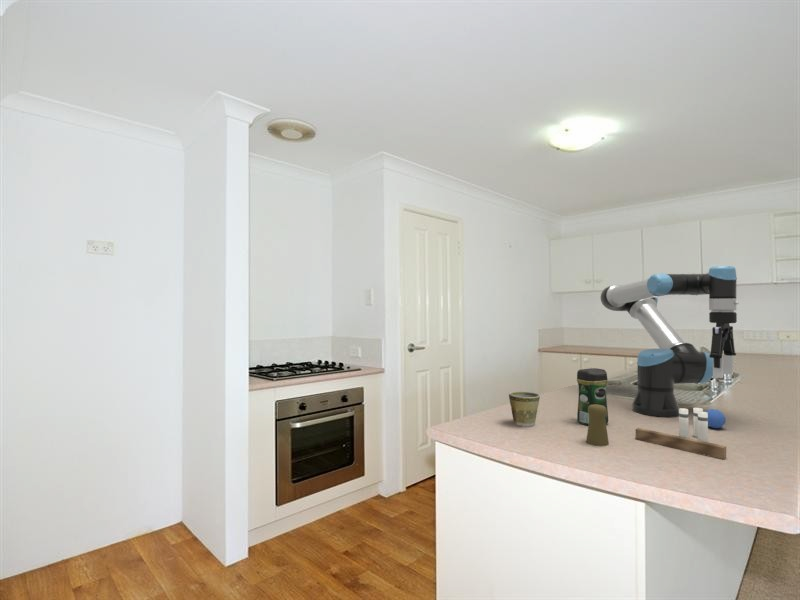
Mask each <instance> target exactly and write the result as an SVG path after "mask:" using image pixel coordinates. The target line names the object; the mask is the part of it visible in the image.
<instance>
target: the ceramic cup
mask: <svg viewBox="0 0 800 600" xmlns="http://www.w3.org/2000/svg"><path fill="white" fill-rule="evenodd" d="M540 396H541V395H540V394H538V393H536V392H531V391H511V392H509V393H508V397H509V404H510V408H511V415H512V422H513V423H514V425H516V426H518V427H523V428H525V427H527V428H530V427H533V426H535V424H536V421H537V415H538V409H539V406H540V405H539V404H540Z"/></svg>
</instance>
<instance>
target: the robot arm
mask: <svg viewBox="0 0 800 600" xmlns="http://www.w3.org/2000/svg"><path fill="white" fill-rule="evenodd" d="M737 279H738V278H737V269H736V267H735V266H733V265H719V266H712V267H709V269H708V273H656V274H652V275H650V277H648V278H645V279H642V280H638V281H634V282H631V283H627V284H623V285H621V284H614V285H610V286H607V287H605V288H604V289H603V290H602V291H601V293H600V302H601V304H602V305H603V306H604V307H605V308H606V309H607V310H610V311H614V312H627V313H628V314H629V316H630V317H631V318H632V319H635V320H637V321H639V322H640V324H641V325H642V326H643V329H645V330H646V332H647V334H649V336H650V337H651V339H652V340H653V341H654V343H655V344H656V345H657V346H658V348H650V349H649V348H648V349H644V350H641V351H640V352H638V354H637V359H636V360H637V361H636V365H637V390H636V391H637V392H636V393H635V397H634V399H633V401H632V410H633V412H635V413H638V414H642V415H647V416H653V417H654V416H655V417H666V418H667V417H668V418H669V417H671V418H672V417H677V416H678V417H679V408H680V407H679V405H678V402H677V399H676V395H675V393H674V387H675V386H674V385H675V384H678V385H679V384H681V385H683V384H696V385H698V384H704V383H708V382H710V380H711V379H712V378H714V379H715V378H716V379H724V375H732V376H733V375H734V356H735V357H736V355H737V353H736V349H735V341H734V340H735V339H734V333H733V332H734V327H733V326H732V325H730V324H735V323H737V322H738V321H737V316H738V314H737V312H736V310H737V305H739V301H737ZM668 295H669V296H671V295H673V296H674V295H679V296H681V295H685V296H686V295H689V296H699V295H700V296H702V295H709V297H708V310H709V314H708V315H709V319H708V320H709V321H708V322H709V323H711V324H715V326H713V327H712V328H711V329H712V335H711V347H710V353H708V352H705V351H698V350H697V348H696V347H695V346H694V345H693V344H692V343H690V342H686V341H684V339H683V338H682V337H681V336H680V334H679V333H678V332H677V331H676V330H675V328H674V327H673V326H672V325H671V324H670V323H669V322H668V320H667V319H666V318H665V316H663V314H662V313H661V312H660V311H659V309H658V308H657V307H658V300H659V299H658V297H663V296H664V297H665V296H668Z"/></svg>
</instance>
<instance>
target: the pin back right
mask: <svg viewBox="0 0 800 600" xmlns="http://www.w3.org/2000/svg"><path fill="white" fill-rule="evenodd" d="M697 440H699V441H703V442H708V443H709V426H708V413H707V412H706V411H704V410H703V411H698V438H697Z"/></svg>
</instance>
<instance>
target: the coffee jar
mask: <svg viewBox="0 0 800 600" xmlns="http://www.w3.org/2000/svg"><path fill="white" fill-rule="evenodd" d="M608 381H609V380H608V373H607V371H606V369H602V368H597V367H596V368H595V367H593V368H592V367H591V368H582V369H578V370H577V373H576V382H577V384H578V401H577V416H576V417H577V422H578V423H580V424H582V425H583V426H584V425H586V426H588V425H589V418H590V415H589V414H588V407H589V406H590V405H593V404H598V405H603V406H605V407H606V409H607V415H606V417H605V421H606V425H607V424H608V423H609V412H608V401H607V385H608Z"/></svg>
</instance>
